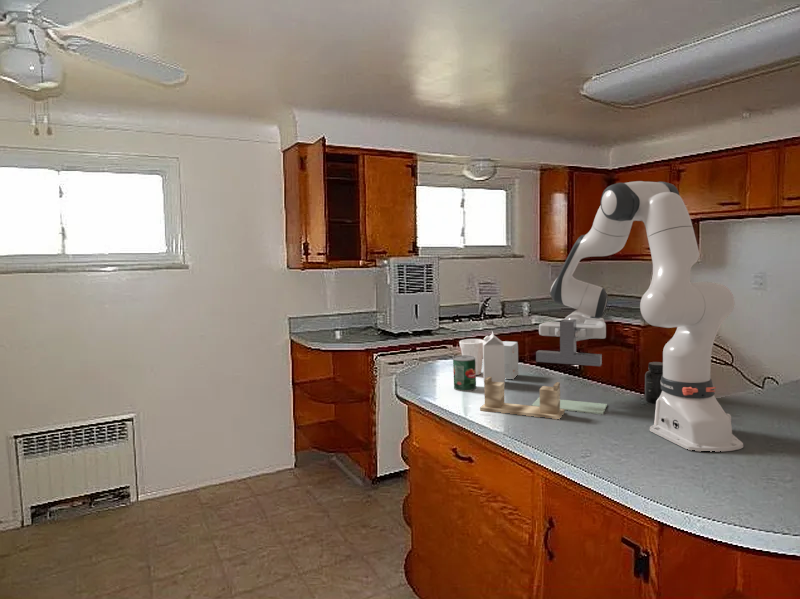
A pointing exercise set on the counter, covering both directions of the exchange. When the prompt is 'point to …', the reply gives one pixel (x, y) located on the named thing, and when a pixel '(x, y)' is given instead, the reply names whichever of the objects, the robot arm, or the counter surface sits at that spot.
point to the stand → (546, 409)
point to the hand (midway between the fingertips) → (567, 334)
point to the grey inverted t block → (568, 349)
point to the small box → (510, 359)
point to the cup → (473, 351)
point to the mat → (578, 406)
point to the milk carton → (493, 358)
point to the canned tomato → (464, 373)
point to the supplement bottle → (653, 382)
